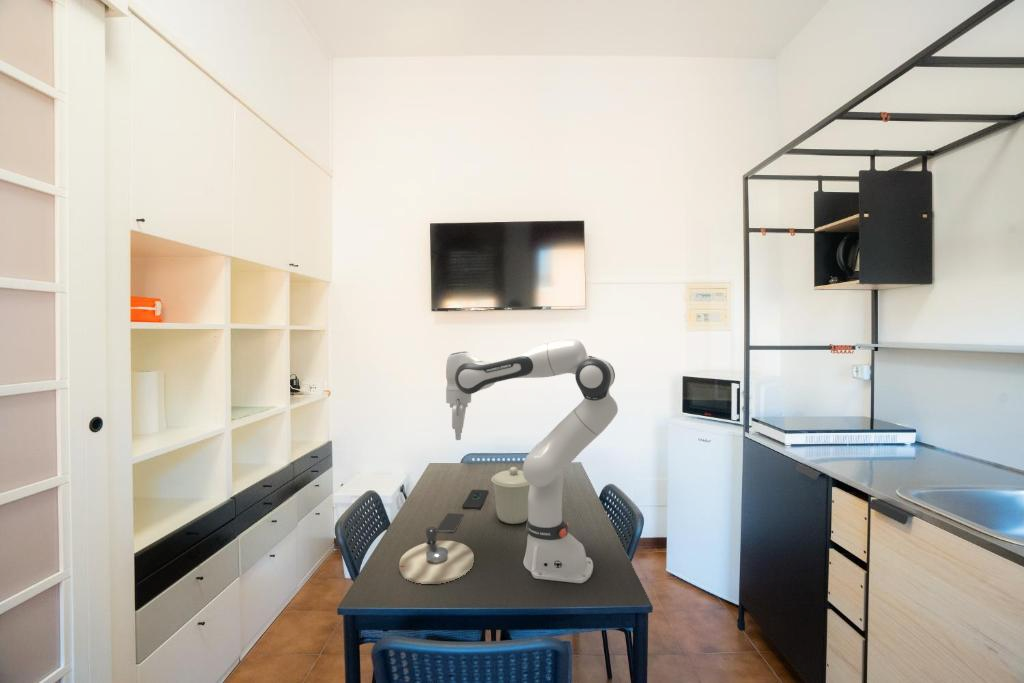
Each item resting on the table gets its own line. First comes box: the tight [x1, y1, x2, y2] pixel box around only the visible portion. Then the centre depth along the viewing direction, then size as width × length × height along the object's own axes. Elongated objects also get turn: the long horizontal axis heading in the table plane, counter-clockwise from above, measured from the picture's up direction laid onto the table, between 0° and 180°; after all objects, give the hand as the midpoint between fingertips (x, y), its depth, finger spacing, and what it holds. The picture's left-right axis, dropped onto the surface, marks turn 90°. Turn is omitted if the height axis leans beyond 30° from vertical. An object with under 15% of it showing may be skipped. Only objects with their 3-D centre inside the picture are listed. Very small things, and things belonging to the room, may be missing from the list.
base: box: [398, 540, 475, 585], centre depth 136 cm, size 24×24×2 cm
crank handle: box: [425, 526, 448, 564], centre depth 139 cm, size 14×7×6 cm, turn 23°
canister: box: [490, 466, 530, 525], centre depth 169 cm, size 18×18×21 cm
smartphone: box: [436, 512, 465, 533], centre depth 165 cm, size 7×1×16 cm
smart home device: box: [462, 489, 489, 511], centre depth 188 cm, size 8×2×20 cm
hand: (458, 436), depth 147 cm, fingers open, 8 cm apart
